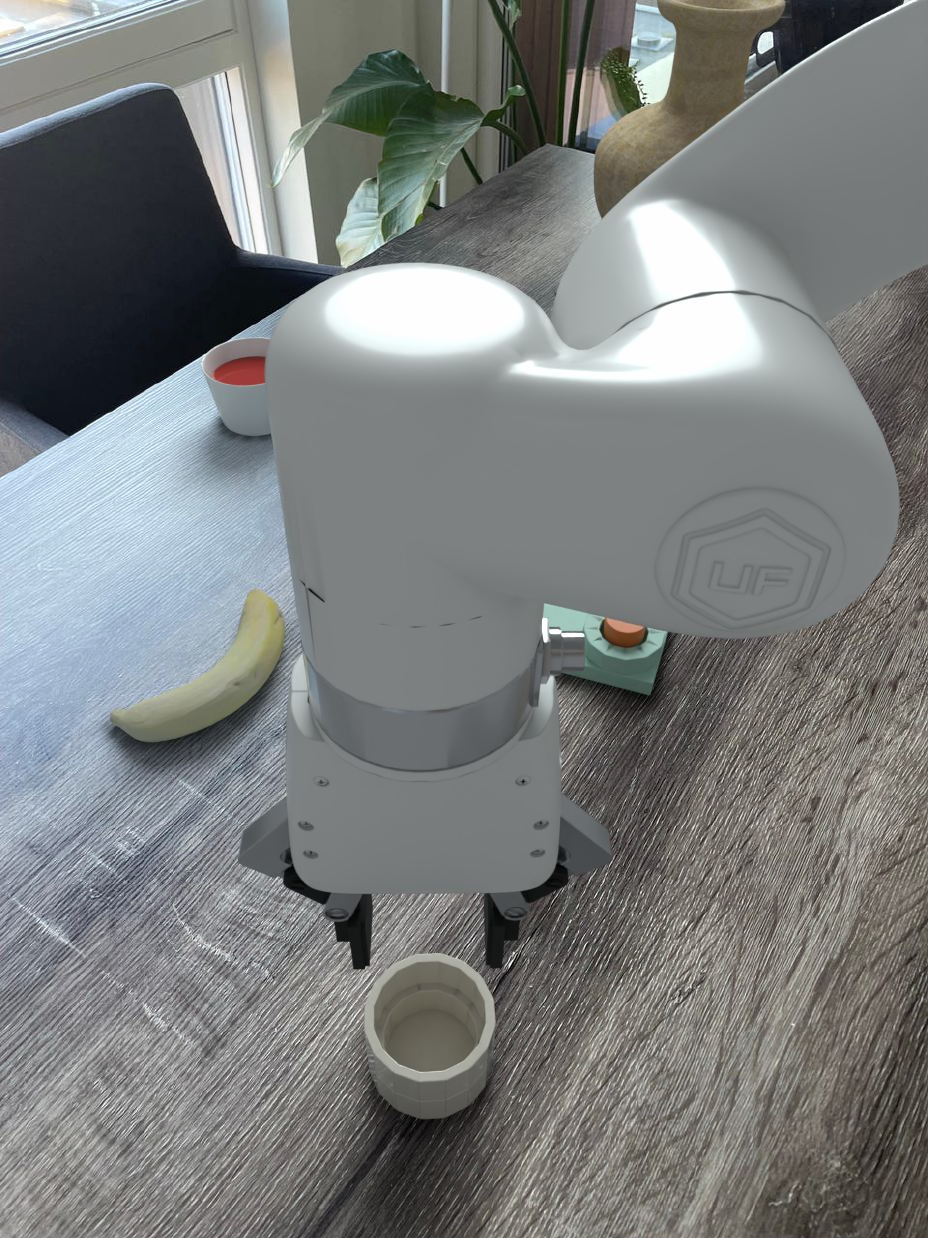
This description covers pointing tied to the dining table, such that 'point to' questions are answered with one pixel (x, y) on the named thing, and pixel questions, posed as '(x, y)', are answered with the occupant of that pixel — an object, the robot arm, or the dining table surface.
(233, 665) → the fruit
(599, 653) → the scale
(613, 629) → the power button
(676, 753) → the dining table surface
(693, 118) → the vase
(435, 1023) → the white cup
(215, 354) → the candle
